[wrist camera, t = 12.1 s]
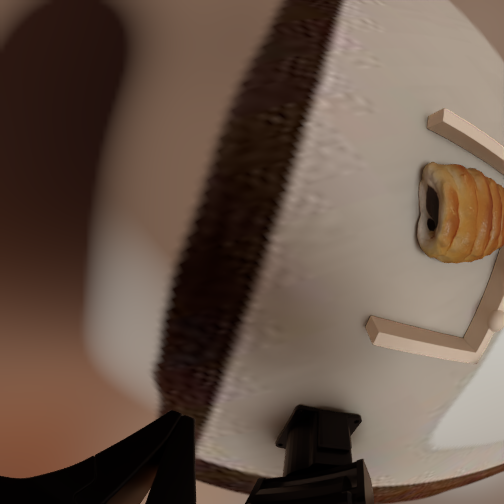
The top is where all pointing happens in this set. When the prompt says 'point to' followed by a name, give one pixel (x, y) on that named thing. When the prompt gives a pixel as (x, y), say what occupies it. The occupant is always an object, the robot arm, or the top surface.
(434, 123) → the frame
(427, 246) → the pastry
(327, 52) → the top surface
